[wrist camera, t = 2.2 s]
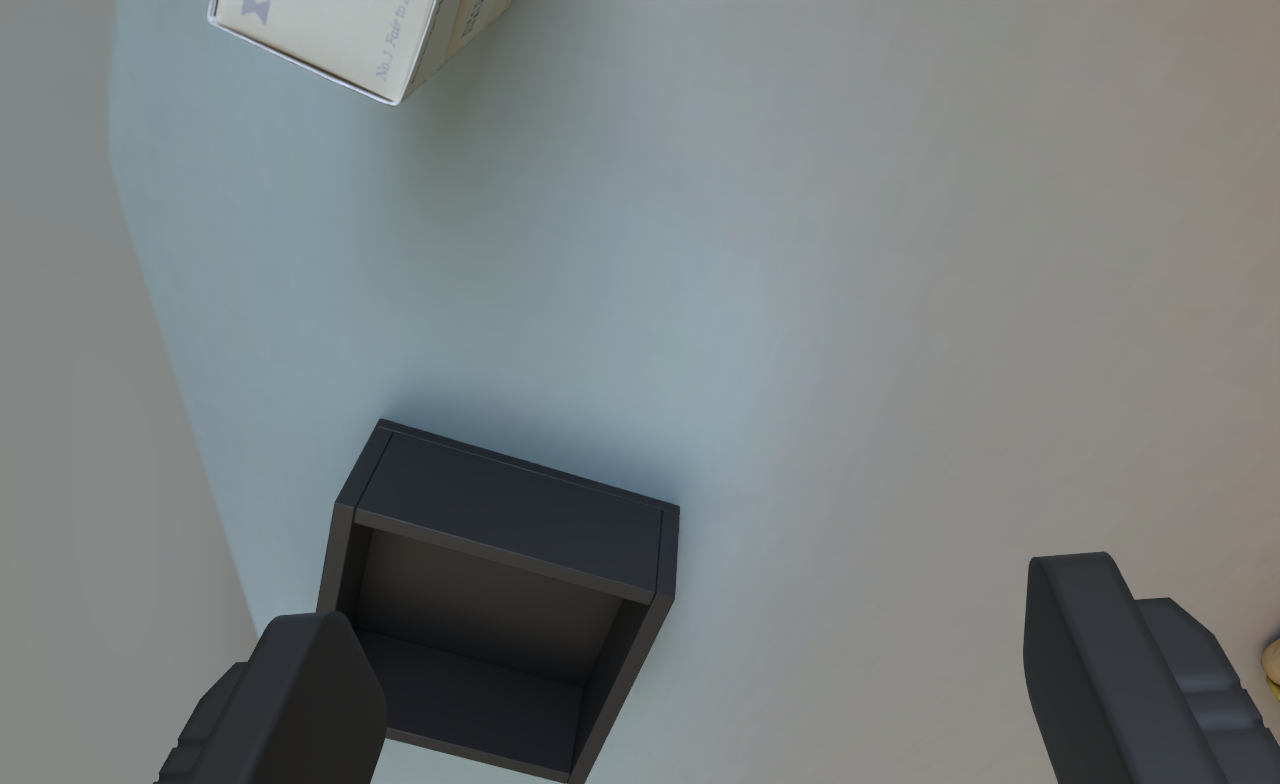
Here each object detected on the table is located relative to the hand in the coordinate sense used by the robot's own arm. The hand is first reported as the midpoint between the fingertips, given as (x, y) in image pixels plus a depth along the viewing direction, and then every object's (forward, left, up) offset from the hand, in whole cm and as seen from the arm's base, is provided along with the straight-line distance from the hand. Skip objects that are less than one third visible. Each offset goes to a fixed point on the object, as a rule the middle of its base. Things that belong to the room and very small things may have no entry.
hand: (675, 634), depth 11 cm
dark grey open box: (-1, -24, -24) cm, 34 cm away
